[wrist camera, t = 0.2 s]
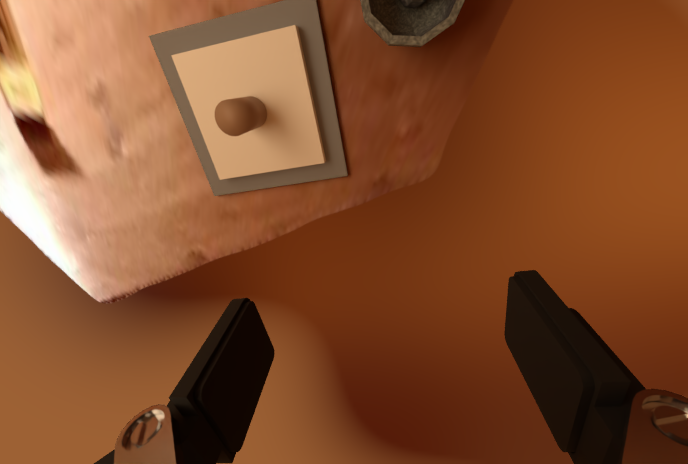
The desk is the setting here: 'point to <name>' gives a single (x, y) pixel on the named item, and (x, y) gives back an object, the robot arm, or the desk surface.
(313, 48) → the slate mat
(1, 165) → the desk surface
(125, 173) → the desk surface
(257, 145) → the cover board
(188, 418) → the robot arm
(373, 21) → the mortar and pestle
